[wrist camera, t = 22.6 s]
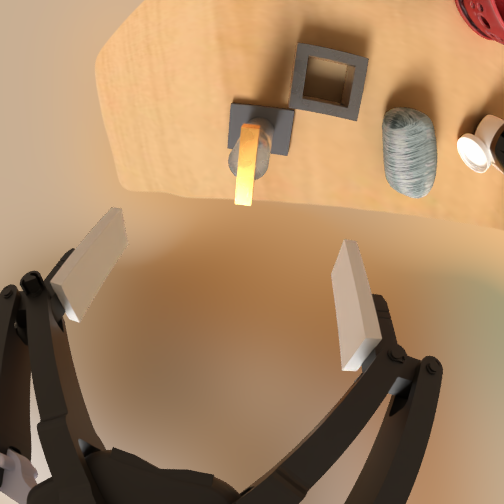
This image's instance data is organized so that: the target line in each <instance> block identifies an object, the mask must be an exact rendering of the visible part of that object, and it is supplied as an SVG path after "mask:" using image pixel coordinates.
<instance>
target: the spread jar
mask: <svg viewBox="0 0 504 504" xmlns="http://www.w3.org/2000/svg"><path fill="white" fill-rule="evenodd" d="M457 149H458V152H459V154H460V156H461V158H462V160H463V161H464V162H465V163H466V165H467V166H468V167H469V168H471V169H472V170H474V171H475V172H478V173H484V172H485V171H486V170H487V169H488V168H489V167H490V165H493V166H494V167H495V168H496V169H498V170H499V171H500V172H502V173H503V174H504V120H503V119H501V118H498V117H496V116H494V115H487V116H485V117H484V118H483V119H482V120H481V121H480V122H479V124H478V125H477V127H476V130H475V133H474V135H472V134H469V133H466V134H464V135H462V136H461V137H460V138H459V139H458V141H457Z"/></svg>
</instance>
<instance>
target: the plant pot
mask: <svg viewBox="0 0 504 504" xmlns="http://www.w3.org/2000/svg"><path fill="white" fill-rule="evenodd" d="M455 3H456V6H457V8H458V11H459V12H460V14H461V16H462V18H463V19H464V20H465V22H466V23H467V24H468V26H469V27H470V28H471V29H472V30H473V31H474V32H476V33H477V34H478V35H480V36H481V37H483V38H485V39H488V40H495V41H497V42H499V43H501V44H504V0H455Z"/></svg>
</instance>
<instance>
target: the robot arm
mask: <svg viewBox="0 0 504 504" xmlns="http://www.w3.org/2000/svg"><path fill="white" fill-rule="evenodd" d="M127 246H128V240H127V235H126V230H125V225H124V219H123V213H122V209H121V208H111V209H110V210H109V211H108V212H107V213H106V214H105V215H104V216H103V217H102V218H101V219H100V221H99V222H98V223H97V224H96V225H95V226H94V227H93V228H92V230H91V231H90V232H89V233H88V234H87V235H86V237H85V238H84V239H83V240H82V241H81V243H80V244H79V245H78V246H77V247H76V249H74V248H72V249H71V250H69V251H68V252H67V253H65V254H64V256H63V257H62V258H61V259H60V261H59V262H58V263H57V264H56V266H55V267H54V268H53V270H52V271H51V272H50V273H49V275H48V276H47V277H46V279H45V280H44V281H43V279H42V277H41V275H40V273H39V272H38V271H31V272H29V273H27V274H25V275H24V276H23V277H22V279H21V281H20V286H21V287H22V289H23V291H18V289H17V287H16V286H15V285H8V286H6V287H5V288H4V289H3V290H2V291H1V293H0V491H2V492H3V493H4V494H6V495H7V496H9V497H10V498H12V499H13V500H15V501H16V502H18V503H19V504H299V503H300V502H301V501H302V500H303V499H304V497H305V496H306V494H307V492H308V490H309V489H310V488H311V487H312V486H313V485H314V484H315V483H316V482H317V481H318V480H319V479H320V478H321V477H322V476H323V475H324V474H325V473H326V472H327V471H328V469H329V468H330V467H331V466H332V465H333V464H334V463H335V462H336V461H337V460H338V458H339V457H340V456H341V455H342V454H343V453H344V451H345V450H346V449H347V448H348V447H349V445H350V444H351V443H352V442H353V440H354V439H355V438H356V437H357V435H358V434H359V433H360V432H361V430H362V429H363V428H364V426H365V425H366V424H367V422H368V421H369V420H370V418H371V417H372V415H373V414H374V413H375V411H376V410H377V408H378V407H379V405H380V403H382V401H383V399H384V398H385V397H386V395H387V394H388V393H389V394H392V396H391V400H390V402H389V405H388V408H387V411H386V414H385V417H384V419H383V422H382V425H381V427H380V430H379V433H378V435H377V437H376V440H375V442H374V445H373V447H372V449H371V452H370V454H369V456H368V458H367V460H366V463H365V465H364V467H363V469H362V471H361V473H360V475H359V477H358V479H357V481H356V483H355V485H354V487H353V489H352V491H351V492H350V494H349V496H348V498H347V500H346V502H345V503H344V504H406V502H407V500H408V497H409V495H410V492H411V490H412V487H413V485H414V482H415V480H416V477H417V474H418V472H419V469H420V466H421V463H422V459H423V457H424V454H425V450H426V447H427V443H428V440H429V437H430V433H431V429H432V425H433V421H434V416H435V412H436V408H437V403H438V398H439V393H440V387H441V380H442V374H443V368H442V365H441V363H440V362H439V360H438V359H436V358H435V357H433V356H426V357H425V358H423V359H422V360H418V359H415V358H412V357H409V356H407V354H406V352H405V350H404V349H403V348H402V347H401V346H400V345H398V344H397V340H396V336H395V332H394V328H393V324H392V320H391V316H390V313H389V309H388V306H387V302H386V301H385V300H384V298H383V297H382V296H381V295H376V294H371V290H370V286H369V282H368V279H367V275H366V271H365V268H364V264H363V261H362V258H361V254H360V251H359V248H358V244H357V241H353V240H347V239H344V241H343V244H342V246H341V249H340V252H339V255H338V258H337V260H336V263H335V266H334V269H333V271H332V274H331V278H332V285H333V291H334V299H335V307H336V315H337V324H338V333H339V342H340V353H341V364H342V370H344V371H357V370H358V369H359V367H360V366H361V365H362V374H361V375H360V376H359V377H358V378H357V379H356V380H355V381H354V384H353V385H352V386H351V387H350V388H349V390H348V391H347V392H346V393H345V394H344V396H343V397H342V398H341V399H340V401H339V402H338V403H337V404H336V405H335V406H334V407H333V409H331V411H330V412H329V413H328V414H327V415H326V416H325V417H324V418H323V419H322V420H321V422H320V423H319V424H318V425H317V426H316V427H315V428H314V429H313V430H312V431H311V432H310V433H309V434H308V435H307V436H306V437H305V438H304V439H303V440H302V441H301V442H300V443H299V444H298V445H297V446H296V447H295V448H294V449H293V450H292V451H291V452H290V453H288V454H287V455H286V456H285V457H284V458H283V459H282V460H281V461H280V462H279V463H277V465H275V466H274V467H273V468H272V469H271V470H269V471H268V472H267V473H266V474H265V475H263V476H262V477H261V478H259V479H258V480H257V481H255V482H254V483H253V484H252V485H250V486H249V487H248V488H247V489H245V490H244V491H243V492H241V493H240V494H239V493H238V492H237V491H236V490H235V489H234V488H233V487H232V486H230V485H229V484H227V483H226V482H224V481H222V480H220V479H218V478H216V477H214V475H212V474H207V473H201V472H196V471H192V470H177V469H176V470H175V469H159V468H158V467H156V466H154V465H152V464H150V463H149V462H147V461H145V460H143V459H141V458H139V457H137V456H136V455H133V454H130V453H128V452H125V451H122V450H119V449H117V448H114V447H113V449H112V450H106V449H105V447H104V445H103V443H102V441H101V440H100V438H99V437H98V436H97V434H96V433H95V430H94V428H93V426H92V423H91V420H90V417H89V414H88V412H87V409H86V406H85V403H84V400H83V397H82V393H81V390H80V387H79V383H78V379H77V376H76V372H75V368H74V364H73V361H72V356H71V351H70V347H69V342H68V337H67V332H66V327H65V321H64V319H63V315H64V313H65V312H66V314H67V316H68V318H69V319H71V320H74V321H77V322H79V323H80V322H81V320H82V318H83V316H84V315H85V313H86V311H87V309H88V308H89V306H90V304H91V303H92V301H93V299H94V297H95V296H96V294H97V292H98V291H99V289H100V288H101V286H102V284H103V283H104V281H105V280H106V278H107V276H108V275H109V273H110V272H111V270H112V269H113V267H114V265H115V264H116V262H117V261H118V259H119V258H120V256H121V255H122V253H123V252H124V250H125V249H126V247H127ZM31 372H32V379H33V384H34V390H35V395H36V400H37V405H38V409H39V414H40V419H41V420H40V423H38V424H37V431H38V435H39V439H40V442H41V445H42V448H43V452H44V455H45V458H46V461H47V464H48V467H49V469H50V472H51V475H52V477H51V478H48V479H47V480H45V481H43V482H41V483H39V484H37V483H36V481H35V479H36V478H37V475H38V473H37V470H36V469H35V468H34V467H33V466H32V464H31V431H30V378H31V377H30V376H31Z"/></svg>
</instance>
